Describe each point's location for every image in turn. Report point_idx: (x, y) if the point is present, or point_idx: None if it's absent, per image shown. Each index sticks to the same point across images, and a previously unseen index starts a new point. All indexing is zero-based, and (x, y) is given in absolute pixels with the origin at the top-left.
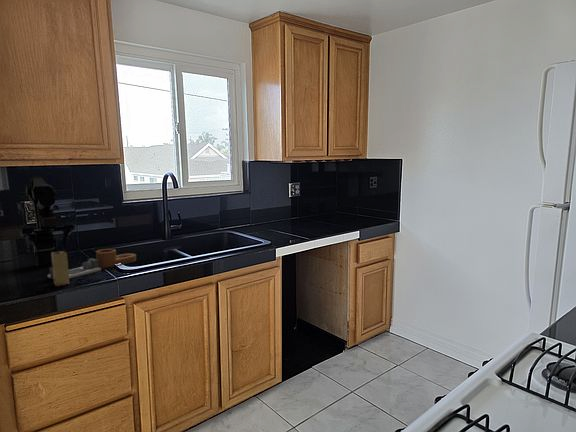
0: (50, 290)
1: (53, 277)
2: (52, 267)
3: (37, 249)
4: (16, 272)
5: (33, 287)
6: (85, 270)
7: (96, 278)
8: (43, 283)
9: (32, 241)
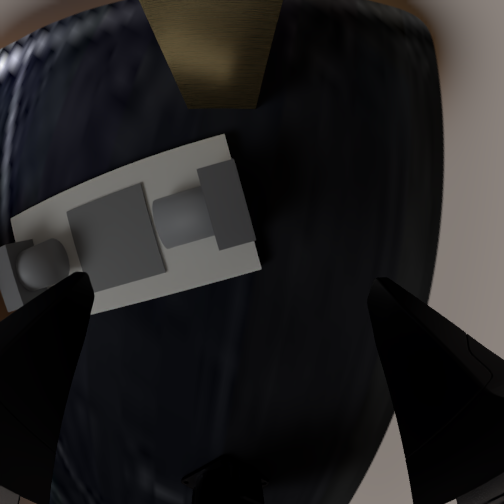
0: (288, 21)
1: (258, 94)
2: (265, 65)
3: (397, 287)
4: (351, 433)
5: (350, 115)
6: (67, 211)
7: (71, 81)
8: (301, 150)
9: (493, 362)
